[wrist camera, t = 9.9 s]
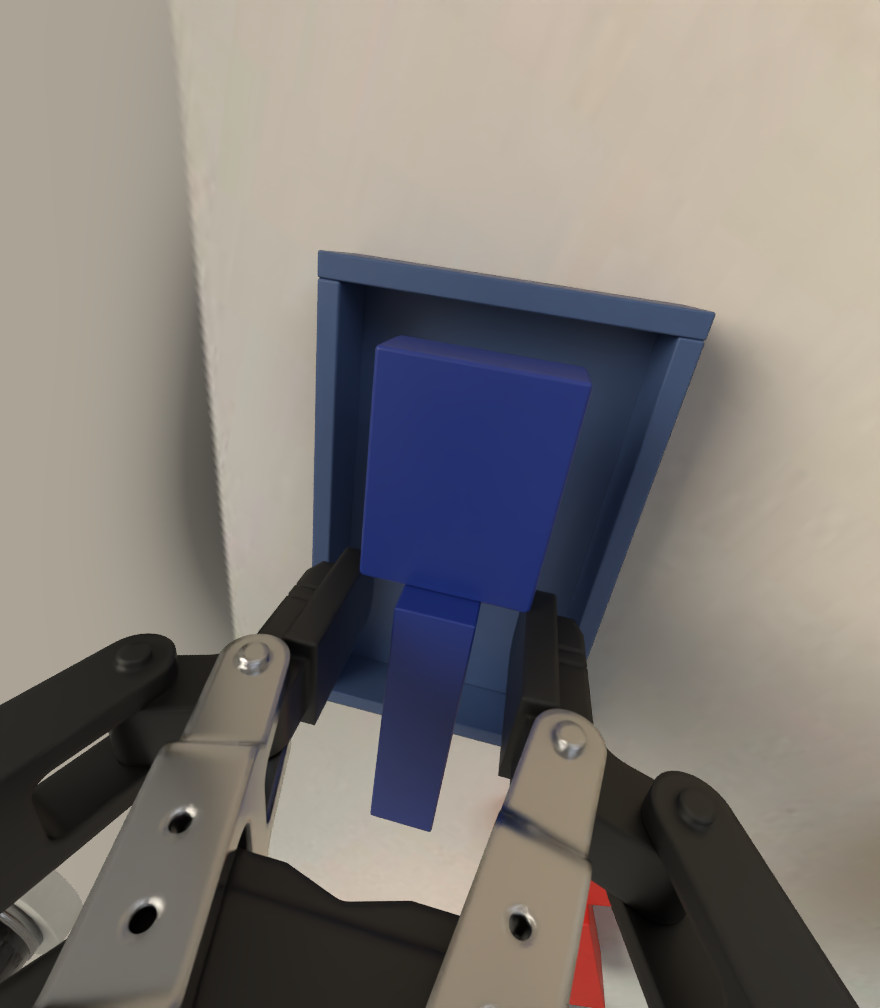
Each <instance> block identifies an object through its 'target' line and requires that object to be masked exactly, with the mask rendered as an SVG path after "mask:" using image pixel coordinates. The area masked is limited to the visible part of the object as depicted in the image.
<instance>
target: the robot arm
mask: <svg viewBox="0 0 880 1008" xmlns="http://www.w3.org/2000/svg"><path fill="white" fill-rule="evenodd" d="M360 557H361V550H360V549H356V548H351V547H347V548H346V549H345V550H344V551H343V553H342V554H341V555H340V557H339V558H338V560H337V561H336V562H335V563H331V562H326V561H322V562H320V563H319V564H317V565H315V566H313V567H312V568H310V569H308V570H307V571H306V572H305V573H304V575H303V576H302V577H301V578H300V580H299V581H298V582H297V585H295V586H294V587H293V589H292V590H291V591H290V592H289V595H288V596H286V597H285V599H284V600H283V601H282V602H281V604H280V605H279V606H278V608H277V609H276V610H275V611H274V613H273V614H272V615H271V616H270V618H269V619H268V620H267V621H266V623H265V624H264V625H263V627H262V628H261V629H260V630H259V632H258V633H257V634H252V635H247V636H244V637H241V638H238V639H236V640H234V641H233V642H231V643H229V644H228V645H227V646H226V647H225V648H224V649H223V650H222V651H221V652H220V654H214V655H177V653H176V648H175V645H174V643H173V642H172V641H171V640H170V639H169V638H167V637H165V636H162V635H158V634H138V635H133V636H129V637H126V638H123V639H121V640H119V641H117V642H115V643H113V644H111V645H109V646H107V647H105V648H104V649H102V650H100V651H98V652H97V653H95V654H93V655H91V656H89V657H87V658H85V659H84V660H82V661H80V662H78V663H77V664H74V665H73V666H71V667H69V668H67V669H65V670H63V671H62V672H60V673H58V674H56V675H55V676H53V677H51V678H49V679H47V680H45V681H43V682H42V683H40V684H38V685H36V686H34V687H32V688H31V689H29V690H27V691H25V692H23V693H21V694H20V695H18V696H16V697H14V698H13V699H11V700H9V701H7V702H5V703H3V704H1V705H0V1008H568V1007H569V1001H570V995H571V990H572V984H573V978H574V973H575V967H576V961H577V956H578V950H579V944H580V939H581V933H582V927H583V921H584V916H585V910H586V904H587V899H588V893H589V887H590V881H593V882H594V883H596V884H597V885H599V886H600V887H602V888H603V889H605V890H606V893H607V896H608V899H609V902H610V905H611V907H612V910H613V913H614V915H615V918H616V921H617V924H618V926H619V929H620V932H621V934H622V937H623V940H624V942H625V945H626V948H627V951H628V953H629V956H630V959H631V961H632V964H633V967H634V969H635V972H636V975H637V978H638V980H639V983H640V986H641V988H642V991H643V994H644V996H645V999H646V1002H647V1005H648V1007H649V1008H859V1007H858V1005H857V1003H856V1002H855V1000H854V999H853V997H852V996H851V994H850V993H849V991H848V989H847V988H846V986H845V985H844V983H843V982H842V980H841V979H840V977H839V976H838V974H837V972H836V971H835V969H834V968H833V966H832V965H831V963H830V962H829V960H828V958H827V957H826V955H825V954H824V952H823V951H822V949H821V948H820V946H819V945H818V943H817V941H816V940H815V938H814V937H813V935H812V934H811V932H810V931H809V929H808V927H807V926H806V924H805V923H804V921H803V920H802V918H801V917H800V915H799V914H798V912H797V910H796V909H795V907H794V906H793V904H792V903H791V901H790V900H789V898H788V896H787V895H786V893H785V892H784V890H783V889H782V887H781V886H780V884H779V883H778V881H777V879H776V878H775V876H774V875H773V873H772V872H771V870H770V869H769V867H768V865H767V864H766V862H765V861H764V859H763V858H762V856H761V855H760V853H759V852H758V850H757V848H756V847H755V845H754V844H753V842H752V841H751V839H750V838H749V836H748V834H747V833H746V831H745V830H744V828H743V827H742V825H741V824H740V822H739V821H738V819H737V817H736V816H735V814H734V813H733V811H732V810H731V808H730V807H729V805H728V804H727V803H726V801H725V800H724V799H723V798H722V797H721V795H720V794H719V793H718V792H716V791H715V790H714V789H713V788H712V787H711V786H709V785H708V784H707V783H705V782H704V781H702V780H701V779H699V778H697V777H695V776H693V775H690V774H687V773H685V772H680V771H667V772H664V773H661V774H660V775H659V776H657V777H656V779H655V780H654V779H652V778H650V777H648V776H647V775H645V774H643V773H641V772H639V771H638V770H636V769H634V768H632V767H630V766H629V765H627V764H625V763H624V762H622V761H621V760H619V759H618V758H617V757H615V756H614V755H613V754H612V753H611V752H610V751H609V750H608V749H607V748H606V745H605V741H604V739H603V737H602V735H601V734H600V732H599V731H598V729H597V728H596V727H595V726H594V724H593V718H592V709H591V699H590V690H589V680H588V671H587V669H586V668H587V661H586V655H585V642H584V635H583V633H582V632H581V630H580V628H579V627H578V625H577V624H576V622H575V620H574V619H571V618H567V617H562V616H558V615H557V599H556V594H553V593H548V592H544V591H540V590H536V592H535V595H534V599H533V602H532V606H531V610H530V611H526V613H523V612H519V616H518V620H517V623H516V627H515V631H514V635H513V639H512V644H511V649H510V655H509V665H508V676H507V686H506V697H505V708H504V719H503V730H502V740H501V751H500V762H499V773H498V776H501V777H505V778H508V779H510V787H509V790H508V793H507V795H506V798H505V801H504V803H503V806H502V808H501V810H500V812H499V814H498V817H497V819H496V822H495V824H494V827H493V830H492V832H491V835H490V838H489V840H488V843H487V846H486V848H485V851H484V854H483V856H482V859H481V862H480V864H479V867H478V870H477V872H476V875H475V877H474V880H473V883H472V885H471V888H470V891H469V893H468V896H467V899H466V901H465V904H464V907H463V909H462V912H461V915H460V916H459V915H455V914H452V913H449V912H446V911H442V910H439V909H436V908H432V907H429V906H426V905H423V904H419V903H416V902H413V901H363V902H347V901H342V900H339V899H337V898H336V897H334V896H333V895H331V894H330V893H329V892H327V891H326V890H324V889H323V888H322V887H320V886H319V885H317V884H316V883H314V882H313V881H312V880H310V879H309V878H307V877H306V876H305V875H303V874H302V873H300V872H299V871H298V870H296V869H295V868H293V867H292V866H291V865H289V864H288V863H286V862H283V861H279V860H276V859H273V858H270V857H268V852H269V843H270V837H271V832H272V827H273V823H274V819H275V814H276V810H277V805H278V801H279V797H280V792H281V788H282V783H283V779H284V775H285V770H286V766H287V762H288V757H289V753H290V748H291V738H292V736H293V734H294V732H295V730H296V729H297V727H298V725H299V723H300V721H301V722H305V723H308V724H312V725H315V724H316V722H317V720H318V718H319V716H320V714H321V712H322V710H323V708H324V706H325V704H326V702H327V700H328V698H329V696H330V694H331V692H332V690H333V688H334V686H335V684H336V682H337V680H338V678H339V676H340V674H341V672H342V670H343V668H344V666H345V664H346V662H347V660H348V658H349V656H350V654H351V652H352V650H353V648H354V646H355V644H356V642H357V640H358V638H359V636H360V634H361V632H362V630H363V628H364V626H365V624H366V622H367V620H368V617H369V613H370V610H371V605H372V599H373V588H374V577H369V576H365V575H362V574H361V572H360ZM107 732H109V736H107V737H106V738H105V739H103V740H102V741H101V742H99V743H97V744H96V745H94V746H93V747H92V748H90V749H89V750H88V751H86V752H84V753H83V754H81V755H80V756H79V757H77V758H76V759H74V760H73V761H72V762H70V763H68V764H67V765H65V766H64V767H63V768H61V769H60V770H58V771H57V772H55V773H54V774H53V775H51V776H50V777H48V778H47V779H45V780H44V781H42V782H41V783H39V782H40V781H41V779H43V778H44V777H45V776H46V775H47V774H48V773H49V772H51V771H52V770H53V769H55V768H56V767H57V766H59V765H60V764H62V763H63V762H65V761H66V760H68V759H69V758H71V757H72V756H74V755H75V754H76V753H78V752H79V751H81V750H82V749H84V748H85V747H87V746H88V745H90V744H91V743H92V742H94V741H96V740H97V739H98V738H100V737H101V736H103V735H104V734H106V733H107ZM38 783H39V784H38ZM130 806H132V807H131V809H130V811H129V813H128V815H127V817H126V819H125V821H124V823H123V825H122V827H121V830H120V832H119V834H118V836H117V838H116V840H115V842H114V844H113V846H112V848H111V850H110V852H109V854H108V857H107V858H106V860H105V862H104V864H103V866H102V869H101V871H100V873H99V875H98V877H97V879H96V881H95V883H94V885H93V887H92V889H91V891H90V893H89V895H88V897H87V899H86V901H85V903H84V905H83V907H82V909H81V911H80V913H79V915H78V918H77V920H76V922H75V924H74V926H73V928H72V930H71V932H70V934H69V936H68V938H67V939H66V940H64V941H63V942H61V943H60V944H58V945H57V946H55V947H54V948H52V949H51V950H49V951H48V952H46V953H45V954H43V955H42V956H40V957H39V958H37V959H36V960H34V961H33V962H31V963H29V964H28V965H27V966H25V967H23V965H24V964H25V963H26V961H28V960H29V959H30V958H31V957H32V955H33V954H34V953H35V951H36V950H37V949H38V947H39V946H40V945H41V943H42V942H43V935H42V932H41V930H40V929H39V927H38V926H37V924H36V923H35V922H34V921H33V920H32V919H31V918H30V917H29V916H28V915H27V914H26V913H25V912H24V911H22V910H21V909H20V908H18V907H17V906H16V905H14V903H15V902H16V901H17V900H19V899H20V898H21V897H22V896H23V895H25V894H26V893H27V892H28V891H29V890H31V889H32V888H33V887H34V886H35V885H37V884H38V883H39V882H40V881H41V880H43V879H44V878H45V877H46V876H47V875H49V874H50V873H51V872H52V871H53V870H55V869H56V868H57V867H58V866H59V865H61V864H62V863H63V862H64V861H65V860H66V859H68V858H69V857H70V856H71V855H73V854H74V853H75V852H76V851H78V850H79V849H80V848H81V847H82V846H84V845H85V844H86V843H87V842H88V841H90V840H91V839H92V838H93V837H94V836H96V835H97V834H98V833H99V832H100V831H101V830H103V829H104V828H105V827H106V826H108V825H109V824H110V823H111V822H112V821H113V820H115V819H116V818H117V817H118V816H119V815H121V814H122V813H123V812H124V811H125V810H127V809H128V808H129V807H130ZM22 967H23V968H22ZM21 968H22V969H21Z"/></svg>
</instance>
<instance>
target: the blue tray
mask: <svg viewBox="0 0 880 1008" xmlns="http://www.w3.org/2000/svg"><path fill="white" fill-rule="evenodd" d="M318 277H319V279H318V302H317V353H316V404H315V454H314V505H313V556H312V567H313V566H315V565H317V564H319V563H320V562H322V561H326V562H331V563H335V562H336V561H337V560H338V558H339V557H340V555H341V554H342V553H343V551H344V550H345V549H346V548H347V547H351V548H356V549H360V550H361V543H362V529H363V515H364V501H365V488H366V474H367V460H368V446H369V432H370V418H371V404H372V390H373V376H374V362H375V349H376V347H377V345H379V344H381V343H384V342H386V341H388V340H390V339H392V338H395V337H397V336H400V335H403V336H408V337H414V338H420V339H426V340H431V341H437V342H443V343H449V344H454V345H460V346H466V347H472V348H477V349H483V350H489V351H494V352H500V353H506V354H512V355H517V356H523V357H529V358H535V359H540V360H546V361H552V362H558V363H563V364H569V365H575V366H580V367H584V368H586V369H587V371H588V374H589V376H590V379H591V381H592V384H593V390H592V393H591V397H590V400H589V404H588V407H587V411H586V414H585V418H584V421H583V425H582V429H581V432H580V436H579V439H578V443H577V446H576V450H575V453H574V457H573V461H572V464H571V468H570V471H569V475H568V478H567V482H566V485H565V489H564V492H563V496H562V500H561V503H560V507H559V510H558V514H557V517H556V521H555V524H554V528H553V531H552V535H551V539H550V542H549V546H548V549H547V553H546V556H545V560H544V563H543V567H542V571H541V574H540V578H539V581H538V585H537V588H536V590H540V591H544V592H548V593H553V594H556V599H557V615H558V616H562V617H567V618H571V619H574V620H575V622H576V624H577V625H578V627H579V628H580V630H581V632H582V633H583V635H584V642H585V655H586V661H587V658H588V656H589V653H590V650H591V647H592V645H593V642H594V639H595V637H596V634H597V631H598V629H599V626H600V623H601V621H602V618H603V615H604V612H605V610H606V607H607V604H608V602H609V599H610V596H611V594H612V591H613V588H614V586H615V583H616V580H617V578H618V575H619V572H620V569H621V567H622V564H623V561H624V559H625V556H626V553H627V551H628V548H629V545H630V543H631V540H632V537H633V535H634V532H635V529H636V526H637V524H638V521H639V518H640V516H641V513H642V510H643V508H644V505H645V502H646V500H647V497H648V494H649V491H650V489H651V486H652V483H653V481H654V478H655V475H656V473H657V470H658V467H659V465H660V462H661V459H662V457H663V454H664V451H665V448H666V446H667V443H668V440H669V438H670V435H671V432H672V430H673V427H674V424H675V422H676V419H677V416H678V413H679V411H680V408H681V405H682V403H683V400H684V397H685V395H686V392H687V389H688V387H689V384H690V381H691V379H692V376H693V373H694V370H695V368H696V365H697V362H698V360H699V357H700V354H701V352H702V349H703V346H704V340H706V339H707V336H708V333H709V331H710V328H711V325H712V323H713V320H714V317H715V313H714V312H711V311H707V310H703V309H699V308H695V307H690V306H686V305H681V304H674V303H668V302H661V301H655V300H649V299H642V298H636V297H630V296H623V295H617V294H610V293H604V292H598V291H591V290H585V289H579V288H572V287H566V286H559V285H553V284H547V283H540V282H534V281H528V280H521V279H515V278H508V277H502V276H496V275H489V274H483V273H477V272H470V271H464V270H457V269H451V268H445V267H438V266H432V265H426V264H419V263H413V262H406V261H400V260H394V259H387V258H381V257H375V256H368V255H362V254H356V253H345V252H334V251H323V250H320V251H318ZM404 586H405V585H404V584H399V583H395V582H391V581H387V580H382V579H378V578H374V588H373V599H372V605H371V610H370V613H369V617H368V620H367V622H366V624H365V626H364V628H363V630H362V632H361V634H360V636H359V638H358V640H357V642H356V644H355V646H354V648H353V650H352V652H351V654H350V656H349V658H348V660H347V662H346V664H345V666H344V668H343V670H342V672H341V674H340V676H339V678H338V680H337V682H336V684H335V686H334V688H333V690H332V692H331V694H330V696H329V698H328V700H327V701H330V702H334V703H338V704H342V705H346V706H349V707H353V708H357V709H361V710H364V711H368V712H372V713H376V714H380V715H382V711H383V702H384V694H385V685H386V677H387V668H388V660H389V651H390V643H391V634H392V625H393V617H394V608H395V606H396V604H397V602H398V599H399V597H400V595H401V593H402V590H403V588H404ZM518 616H519V611H514V610H510V609H506V608H502V607H497V606H493V605H489V604H485V603H481V606H480V611H479V616H478V621H477V626H476V631H475V635H474V640H473V644H472V649H471V653H470V658H469V663H468V667H467V672H466V676H465V681H464V685H463V690H462V694H461V699H460V703H459V708H458V712H457V717H456V721H455V726H454V730H453V734H455V735H459V736H463V737H466V738H470V739H474V740H478V741H482V742H485V743H489V744H493V745H497V746H501V740H502V730H503V719H504V708H505V697H506V686H507V676H508V665H509V655H510V649H511V644H512V639H513V635H514V631H515V627H516V623H517V620H518Z"/></svg>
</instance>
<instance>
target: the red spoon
mask: <svg viewBox="0 0 880 1008" xmlns="http://www.w3.org/2000/svg"><path fill="white" fill-rule="evenodd" d="M592 905H600V906H611V905H610V902H609V899H608V896H607V893H606V890H605V889H603V888H602V887H600V886H599V885H597V884H596V883H594V882H593V881H590V887H589V893H588V899H587V904H586V910H585V916H584V921H583V927H582V933H581V939H580V944H579V950H578V956H577V961H576V967H575V973H574V978H573V984H572V990H571V995H570V1001H569V1004H571V1005H578V1006H585V1007H592V1008H605V1000H604V988H603V976H602V964H601V952H600V946H599V941H598V935H597V929H596V923H595V918H594V912H593V906H592Z"/></svg>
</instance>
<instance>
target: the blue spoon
mask: <svg viewBox="0 0 880 1008" xmlns="http://www.w3.org/2000/svg"><path fill="white" fill-rule="evenodd" d="M592 390H593V384H592V381H591V379H590V376H589V374H588V371H587V369H586V368H584V367H580V366H575V365H569V364H563V363H558V362H552V361H546V360H540V359H535V358H529V357H523V356H517V355H512V354H506V353H500V352H494V351H489V350H483V349H477V348H472V347H466V346H460V345H454V344H449V343H443V342H437V341H431V340H426V339H420V338H414V337H408V336H403V335H400V336H397V337H395V338H392V339H390V340H388V341H386V342H384V343H381V344H379V345H377V347H376V349H375V362H374V376H373V390H372V404H371V418H370V432H369V446H368V460H367V474H366V488H365V501H364V515H363V529H362V543H361V557H360V572H361V574H362V575H365V576H369V577H374V578H378V579H382V580H387V581H391V582H395V583H399V584H404V585H405V586H404V588H403V590H402V593H401V595H400V597H399V599H398V602H397V604H396V606H395V608H394V617H393V625H392V634H391V643H390V651H389V660H388V668H387V677H386V685H385V694H384V702H383V711H382V719H381V728H380V736H379V745H378V753H377V762H376V770H375V779H374V787H373V796H372V804H371V815H373V816H377V817H380V818H383V819H387V820H390V821H394V822H397V823H400V824H404V825H407V826H411V827H414V828H417V829H421V830H424V831H428V832H430V831H431V830H432V825H433V821H434V816H435V812H436V807H437V803H438V798H439V794H440V789H441V785H442V780H443V776H444V771H445V767H446V762H447V758H448V753H449V749H450V744H451V739H452V735H453V730H454V726H455V721H456V717H457V712H458V708H459V703H460V699H461V694H462V690H463V685H464V681H465V676H466V672H467V667H468V663H469V658H470V653H471V649H472V644H473V640H474V635H475V631H476V626H477V621H478V616H479V611H480V606H481V603H485V604H489V605H493V606H497V607H502V608H506V609H510V610H514V611H519V612H523V613H526V611H530V610H531V606H532V602H533V599H534V595H535V592H536V588H537V585H538V581H539V578H540V574H541V571H542V567H543V563H544V560H545V556H546V553H547V549H548V546H549V542H550V539H551V535H552V531H553V528H554V524H555V521H556V517H557V514H558V510H559V507H560V503H561V500H562V496H563V492H564V489H565V485H566V482H567V478H568V475H569V471H570V468H571V464H572V461H573V457H574V453H575V450H576V446H577V443H578V439H579V436H580V432H581V429H582V425H583V421H584V418H585V414H586V411H587V407H588V404H589V400H590V397H591V393H592Z"/></svg>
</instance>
